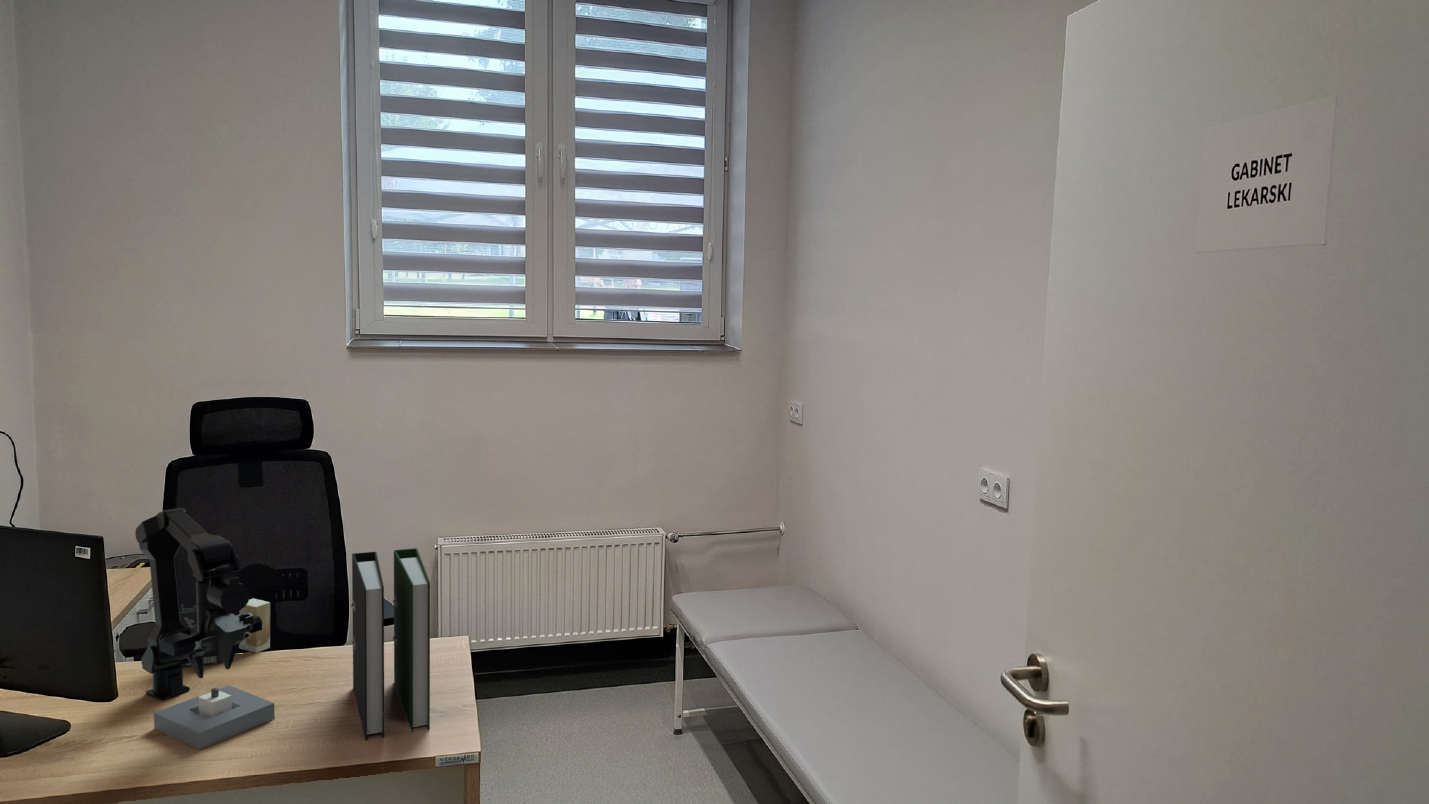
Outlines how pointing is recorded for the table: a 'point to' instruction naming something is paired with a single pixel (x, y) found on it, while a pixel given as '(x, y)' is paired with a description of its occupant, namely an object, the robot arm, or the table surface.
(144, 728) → the table surface
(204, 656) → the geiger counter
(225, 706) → the plug
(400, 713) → the table surface
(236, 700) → the socket
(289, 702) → the table surface
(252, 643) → the skincare box
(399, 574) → the books
